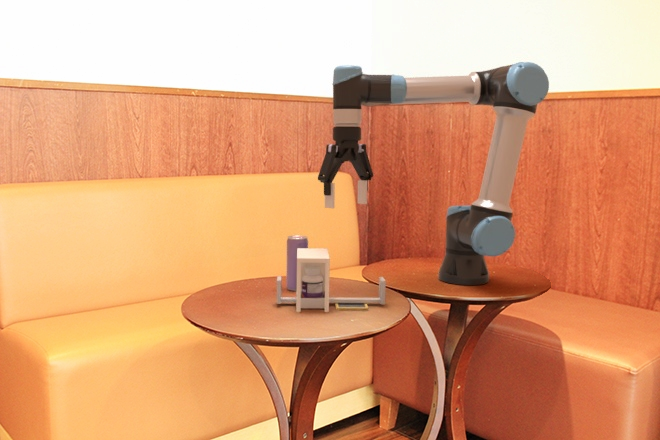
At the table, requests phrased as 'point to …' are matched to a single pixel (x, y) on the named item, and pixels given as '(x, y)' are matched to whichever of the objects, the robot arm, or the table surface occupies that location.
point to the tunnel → (317, 259)
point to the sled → (321, 301)
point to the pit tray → (351, 306)
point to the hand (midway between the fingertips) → (346, 206)
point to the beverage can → (294, 259)
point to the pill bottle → (312, 283)
